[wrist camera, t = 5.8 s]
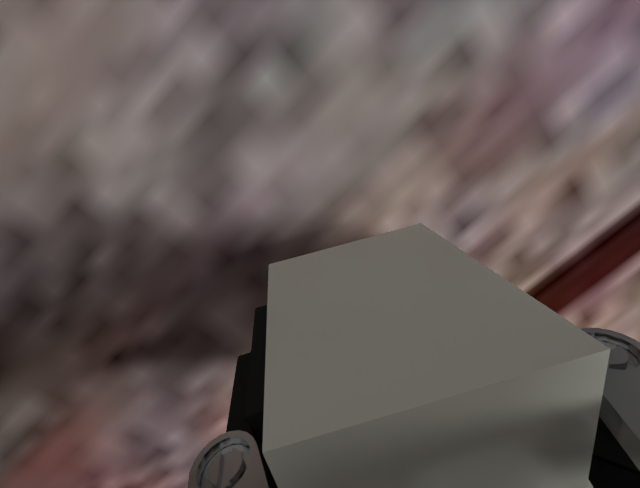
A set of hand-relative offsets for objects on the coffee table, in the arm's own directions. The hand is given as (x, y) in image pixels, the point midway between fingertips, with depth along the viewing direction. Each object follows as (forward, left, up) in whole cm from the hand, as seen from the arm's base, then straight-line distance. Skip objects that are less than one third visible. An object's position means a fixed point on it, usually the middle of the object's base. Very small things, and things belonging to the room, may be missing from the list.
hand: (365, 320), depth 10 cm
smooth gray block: (0, 0, -1) cm, 1 cm away
